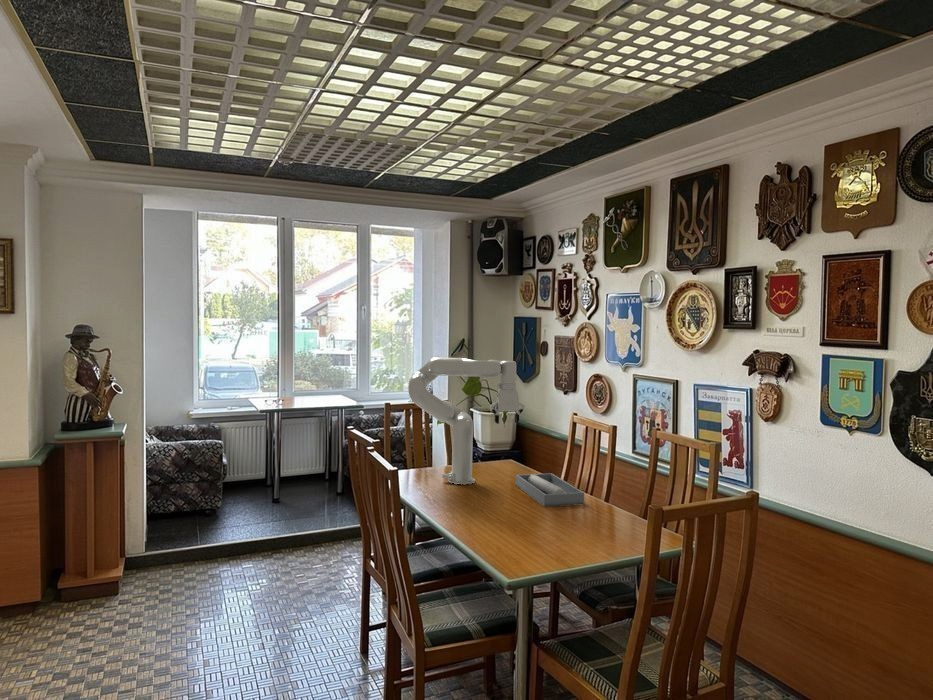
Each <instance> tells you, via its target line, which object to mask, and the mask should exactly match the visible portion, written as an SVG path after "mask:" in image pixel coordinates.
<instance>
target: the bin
mask: <svg viewBox="0 0 933 700" xmlns="http://www.w3.org/2000/svg"><path fill="white" fill-rule="evenodd" d="M532 474H533V473H531V474H530V473H527V474H516V475H515V487H516V488H518V487H519V488H520V490H521V491H522V490H523V491H524V492H523V491H522V492H523V493H525V494H526V493H527V494H528V495H527V496H529V497H530V496H531V497H532V499H533V500H534V499H535V500H536V501H535V500H534V501H535V502H537V503H538V502H539V503H540V504H539V503H538V504H539V505H541V506H542V505H543V506H544V508H546V507H545V506H551V507H561V506H560V505H568V506H575V505H574V504H584V505H585V492H584V491H582V490H580V489H578V488H577V487H575V486H574V485H572V484H570V483H569V482H567V481H565V480H564V479H562V478H561V477H558V475H555V474H554V473H551V472H550V473H535V474H536V475H537V476H538V477H540V478H542V479H544V480H546V481H548V482H550V483H552V484H554V485H556V486H558V487H560V488H562V489H563V490H564V493H558V494H547V493H546V492H544V491H542V490H540V489H538V488H536V487H535V486H533V485H532V484H530V483H529V482H528V478H529V477H530V475H532ZM519 488H518V489H519ZM531 497H530V498H531ZM543 506H542V507H543Z"/></svg>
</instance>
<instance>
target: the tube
mask: <svg viewBox="0 0 933 700" xmlns="http://www.w3.org/2000/svg"><path fill="white" fill-rule="evenodd" d="M531 474H532V475H530V477H529V478H528V482H529V483H530V484H532V485H533V486H535V487H536V488H538V489H540V490H542V491H544V492H546V493H547V494H558V493H564V490H563V489H562V488H560V487H558V486H556V485H554V484H552V483H550V482H548V481H546V480H544V479H542V478H540V477H538V476H537V475H536V474H537V473H531Z"/></svg>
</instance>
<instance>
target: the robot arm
mask: <svg viewBox="0 0 933 700" xmlns="http://www.w3.org/2000/svg"><path fill="white" fill-rule="evenodd" d="M439 376H448V377H449V376H451V377H476V378H477V377H479V378H481V377H482V378H496V377H497V376H499V384H496V387H497V388H498V389H497V396H496V401H495V402H493V403H491V404H490V405H489V409H490V410H491V413H493V414H494V422H495V424H500V415H499V414H500V413H501V412H515V414H514V423H515V424H519V422H520V415H521V414H522V413H523V411H524V409H525V407H526V406H525V404H523V403H521V402H520V400H519V399H520V398H519V391H518V389H517V362H516V361H514V360H498V359H489V360H476V359H475V360H474V359H469V358H464V357H440V356H434V357H431V359H429V360H428V361H427V362H426V363H425V364H424V365H423V366H421V367H420V369H418V370H417V371H416V372H415V373H413V374H412V375H411V377H410V378H409V382H408V386H407V387H408V390H407V391H408V395H409V397H410V399H411V401H412V402H413V403H414V404H415V405H416V406H417V407H419V408H420V409H421V410H423V411H425V413H427V414H428V415H431V416H432V417H433V418H434V419H436V420H437V421H438V422H441V423H446V424H447V425H449V426H450V427H452V439H451V440H452V446H451V449H452V450H451V451H452V452H451V470H450V472H448V473H441V479H447V480H448V481H449V483H450V484H452V483H454V484H453V485H457V484H461V485H460V486H467V485H466V484H469V485H472V483H473V484H475V483H476V479H475V478H474V477H472V476H473V444H474V443H473V441H474V440H473V438H474V422H473V419H472V417H471V415H470V414H469V413H467V412H466V411H464V410H463V409H462V408H461V407H458V406H457V405H455V404H453V403H452V402H451V401H449V400H445V399H444V400H443V399H440V398H439V397H438V396H436V395H434V394H433V393H431V392H430V391H429V390H428V389H427V387H428V386H429V384H430V383H431V384H432V382H433V381H435V380H436V378H438V377H439ZM495 408H496V409H495ZM462 484H463V485H462Z"/></svg>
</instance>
